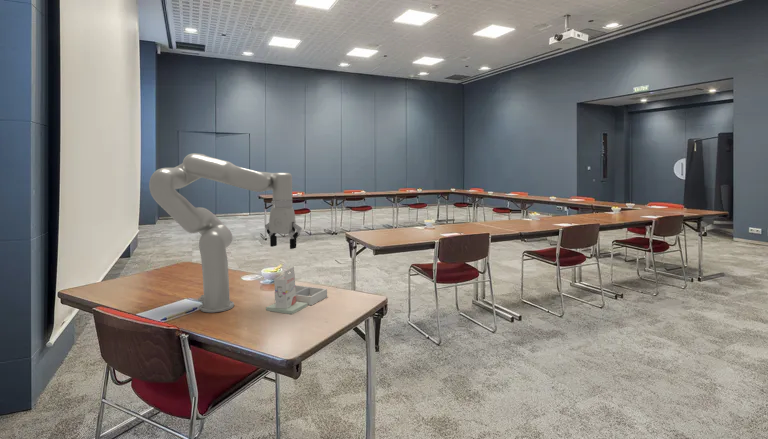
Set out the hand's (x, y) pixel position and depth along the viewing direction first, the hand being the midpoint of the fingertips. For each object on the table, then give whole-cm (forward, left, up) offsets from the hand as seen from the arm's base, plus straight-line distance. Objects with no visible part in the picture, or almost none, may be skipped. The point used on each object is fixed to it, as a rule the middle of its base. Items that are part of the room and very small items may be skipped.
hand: (283, 247), depth 171 cm
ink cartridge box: (+2, -3, -23) cm, 23 cm away
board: (+3, -2, -24) cm, 24 cm away
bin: (+1, +10, -24) cm, 26 cm away
